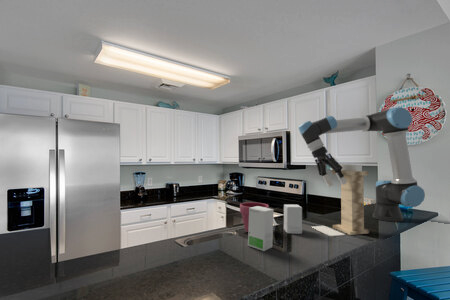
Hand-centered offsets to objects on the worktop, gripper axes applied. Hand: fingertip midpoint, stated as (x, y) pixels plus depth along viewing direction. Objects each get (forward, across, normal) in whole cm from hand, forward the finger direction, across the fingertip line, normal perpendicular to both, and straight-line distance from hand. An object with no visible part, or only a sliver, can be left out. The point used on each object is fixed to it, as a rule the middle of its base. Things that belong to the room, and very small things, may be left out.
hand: (337, 185), depth 124 cm
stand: (+22, -1, -5) cm, 23 cm away
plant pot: (+2, -2, -49) cm, 49 cm away
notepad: (+17, 0, -16) cm, 24 cm away
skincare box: (+5, +19, -52) cm, 56 cm away
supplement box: (+10, 0, -32) cm, 34 cm away
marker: (-6, 0, +6) cm, 9 cm away
